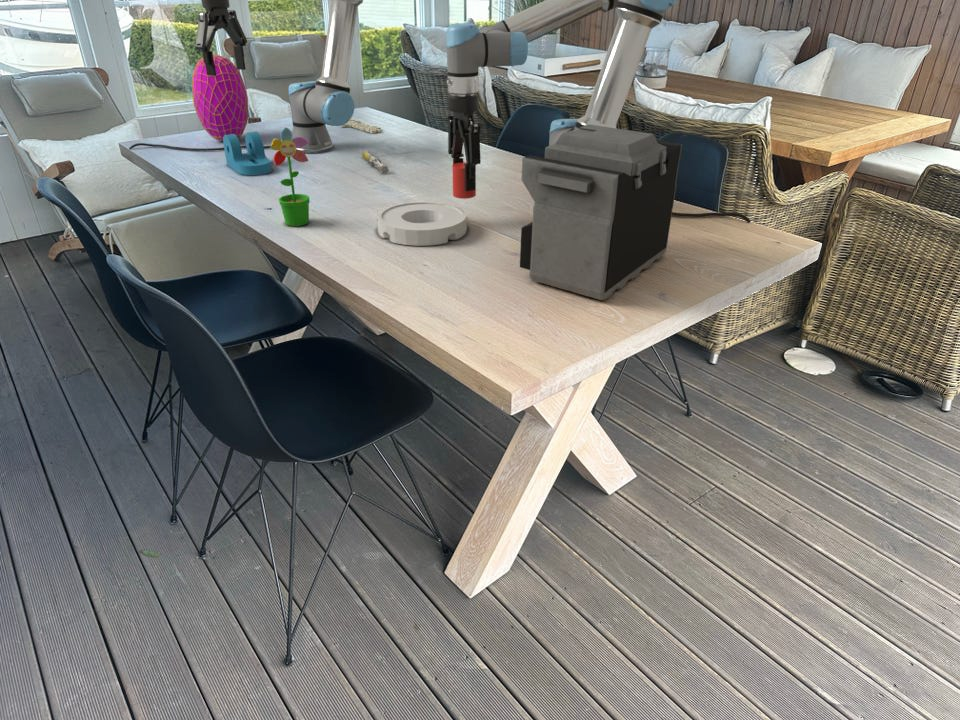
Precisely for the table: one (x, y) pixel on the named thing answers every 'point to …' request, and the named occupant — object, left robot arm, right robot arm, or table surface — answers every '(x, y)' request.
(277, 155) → the potted flower
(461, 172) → the canister
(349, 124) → the decorative sign
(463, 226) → the ashtray
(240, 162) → the camera mount
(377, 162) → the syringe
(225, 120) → the decorative egg
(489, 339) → the table surface
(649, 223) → the grey cooler box
